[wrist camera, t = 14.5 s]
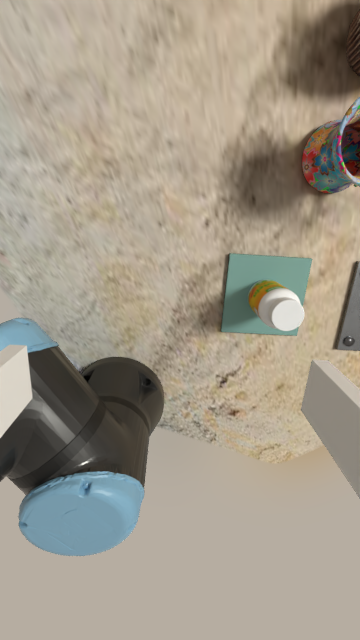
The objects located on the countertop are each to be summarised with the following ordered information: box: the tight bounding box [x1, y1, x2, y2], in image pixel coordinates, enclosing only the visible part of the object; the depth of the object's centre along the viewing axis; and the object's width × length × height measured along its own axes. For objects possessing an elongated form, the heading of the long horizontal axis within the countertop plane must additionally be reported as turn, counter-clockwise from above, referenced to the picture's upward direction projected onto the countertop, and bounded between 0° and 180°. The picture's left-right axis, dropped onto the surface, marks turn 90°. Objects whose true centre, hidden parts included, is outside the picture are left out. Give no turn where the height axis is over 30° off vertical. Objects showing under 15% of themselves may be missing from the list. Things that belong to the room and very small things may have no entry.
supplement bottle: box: [248, 279, 304, 331], centre depth 40 cm, size 5×5×10 cm
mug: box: [302, 97, 360, 193], centre depth 35 cm, size 12×9×11 cm
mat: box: [221, 253, 312, 336], centre depth 45 cm, size 12×12×1 cm
